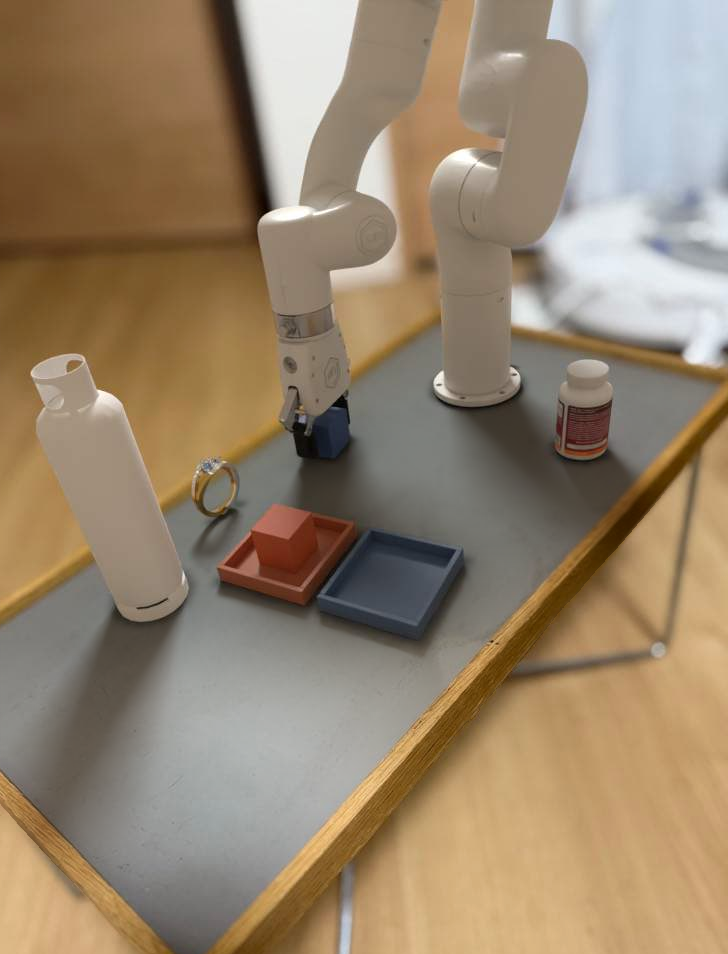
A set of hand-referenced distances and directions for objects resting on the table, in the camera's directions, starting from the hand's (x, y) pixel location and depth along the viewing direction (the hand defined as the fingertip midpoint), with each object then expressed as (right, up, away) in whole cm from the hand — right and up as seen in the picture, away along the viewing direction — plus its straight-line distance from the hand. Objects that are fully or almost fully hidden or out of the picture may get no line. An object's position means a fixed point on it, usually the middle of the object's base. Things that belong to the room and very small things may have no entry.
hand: (324, 439), depth 97 cm
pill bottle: (+32, -2, -8) cm, 33 cm away
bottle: (-19, -20, -18) cm, 33 cm away
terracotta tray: (-4, -16, -16) cm, 23 cm away
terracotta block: (-4, -16, -17) cm, 23 cm away
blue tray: (+7, -19, -22) cm, 30 cm away
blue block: (0, -1, +1) cm, 1 cm away
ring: (-13, -11, -8) cm, 18 cm away
